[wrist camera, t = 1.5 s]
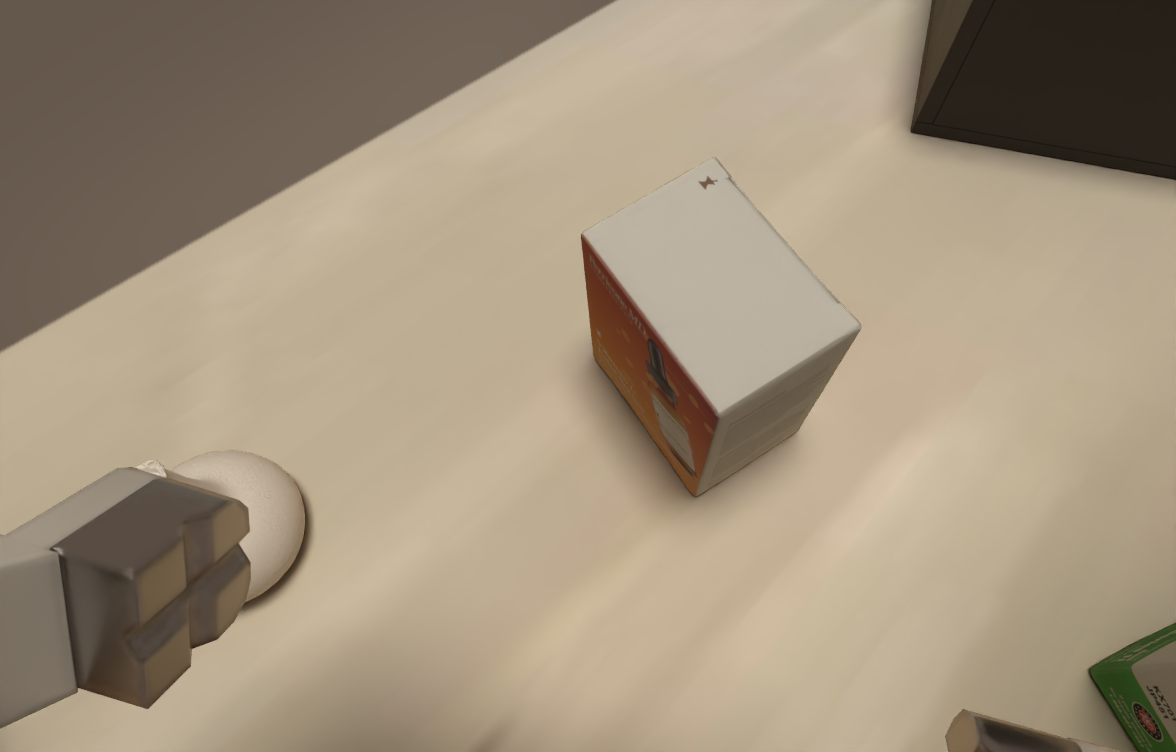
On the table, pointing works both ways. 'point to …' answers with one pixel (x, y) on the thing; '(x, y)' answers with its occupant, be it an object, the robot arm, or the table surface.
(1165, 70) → the trash bin
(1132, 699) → the ink box
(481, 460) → the table surface
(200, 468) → the garlic bulb
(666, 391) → the small box
